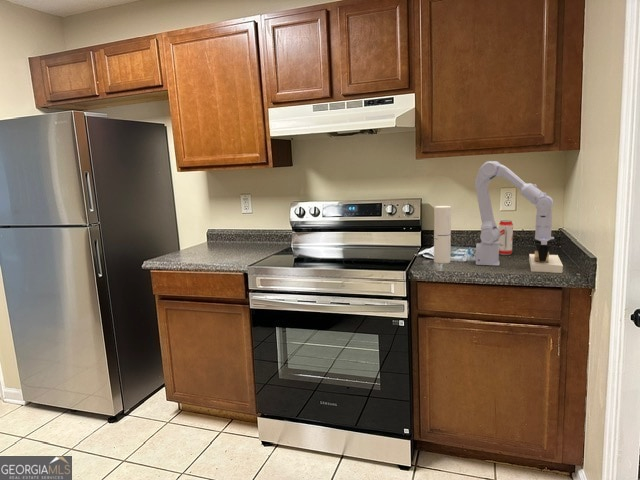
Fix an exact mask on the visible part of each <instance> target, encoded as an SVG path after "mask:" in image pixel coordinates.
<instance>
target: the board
mask: <svg viewBox="0 0 640 480" xmlns="http://www.w3.org/2000/svg"><path fill="white" fill-rule="evenodd" d="M534 257H535V253H529V256H528V258H529V259H528V262H529V266H530V271H531V272H537V273H538V272H539V273H553V274H555V273H556V274H558V273H559V274H563V268H564V265H563V263H562V261H561V259H560V257H559V255H558V254H549V262H547V263H540V262H535V261H534Z"/></svg>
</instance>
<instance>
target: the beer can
mask: <svg viewBox="0 0 640 480" xmlns="http://www.w3.org/2000/svg"><path fill="white" fill-rule="evenodd" d="M498 229H499V231H500V237H499V239H498V242H499V256H500V255H501V256H510V255H512V253H513V241H514V240H513V236H514V235H513V231H514V224H513V220H510V219H509V220H508V219H505V220H500V221H499V223H498Z"/></svg>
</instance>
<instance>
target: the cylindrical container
mask: <svg viewBox="0 0 640 480" xmlns="http://www.w3.org/2000/svg"><path fill="white" fill-rule="evenodd" d="M433 208H434V209H433V210H434V211H433V213H434V214H433V215H434V216H433V218H434V219H433V221H434V222H433V223H434V225H433V230H434V231H433V263H435V264H449V263H451V245H452V244H451V240H452V239H451V238H452V237H451V235H452V231H451V230H452V206H450V205H436V206H433Z"/></svg>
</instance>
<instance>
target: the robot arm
mask: <svg viewBox="0 0 640 480" xmlns="http://www.w3.org/2000/svg"><path fill="white" fill-rule="evenodd" d="M496 177H497V178H504V179H505V180H507V182H510V183H511V184H512V185H513V186H515V187H516V188H517V189H519V191H520V195H521V196H522V197H523V198H525V199H526V200H527V201H529V203H531V204H533V205H534V206H535V209H536V215H535V231H534V232H535V233H534V243H535V247H536V249H537V250H536V251H538V254H539V260H540V261H546V258H547V254H548V252H550V249H551V248H552V244H550V242H551V240H554V239H555V236H552V228H553V227H552V224H553V209H552V208H553V207H554V199H553V198H552V197H551V196H550V195H547V192H543V191H542V190H540V189H539V188H538V185H537V184H536V183H534V184H533V183H532V182H530V183H529V182H528V183H526V182H524V180H522V179H521V178H520V177H519V176H518V175H517V174H516V173H514V172H513V171H512V170H511V169H510V168H508V167H507V166H505V165H504V164H501V162H500V161H497V160H487V161H485V162H484V163H483V164H481V166H480V167H479V168H478V172H477V176H476V178H475V181H474V187H475V192H476V197H477V198H476V199H477V203H478V209H479V214H480V219H481V225H480V230H481V231H480V236H479V237H480V240H481V242H479V243H478V242H477V243H476V245H475V246H476V247H475V257H474V258H475V259H474V260H475V265H476V266H477V265H480V266H481V265H482V266H500V260H499V259H500V258H499V257H500V254H499V242H498V239H499V237H500V231H499V227H497V223H496V221H495V217H494V213H493V207H492V200H491V195H490V189H489V184H490V183H491V181H492V180H494V178H496Z"/></svg>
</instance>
